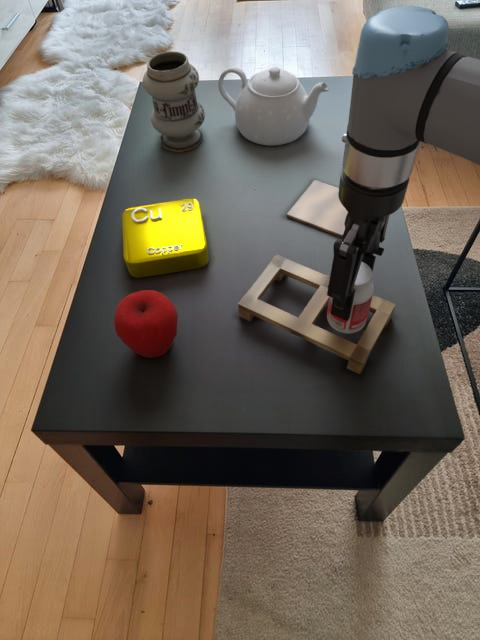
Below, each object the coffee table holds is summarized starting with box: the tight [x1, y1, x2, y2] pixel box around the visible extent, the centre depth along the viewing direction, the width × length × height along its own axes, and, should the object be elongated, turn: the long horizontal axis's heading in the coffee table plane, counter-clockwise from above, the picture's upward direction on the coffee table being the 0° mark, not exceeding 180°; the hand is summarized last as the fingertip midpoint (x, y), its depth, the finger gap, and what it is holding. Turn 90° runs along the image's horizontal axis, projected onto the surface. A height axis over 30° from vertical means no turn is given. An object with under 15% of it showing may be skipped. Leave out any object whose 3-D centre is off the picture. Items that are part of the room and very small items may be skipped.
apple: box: [113, 289, 179, 358], centre depth 74 cm, size 10×10×11 cm
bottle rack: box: [237, 254, 397, 375], centre depth 79 cm, size 22×13×4 cm, turn 58°
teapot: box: [217, 66, 329, 146], centre depth 107 cm, size 19×18×14 cm
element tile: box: [121, 198, 210, 279], centre depth 90 cm, size 15×15×5 cm
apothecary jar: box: [142, 50, 206, 153], centre depth 104 cm, size 12×12×18 cm
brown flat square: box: [286, 179, 348, 238], centre depth 95 cm, size 12×12×1 cm
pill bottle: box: [326, 262, 375, 334], centre depth 71 cm, size 6×6×11 cm
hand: (350, 299), depth 72 cm, fingers closed on pill bottle, 6 cm apart
